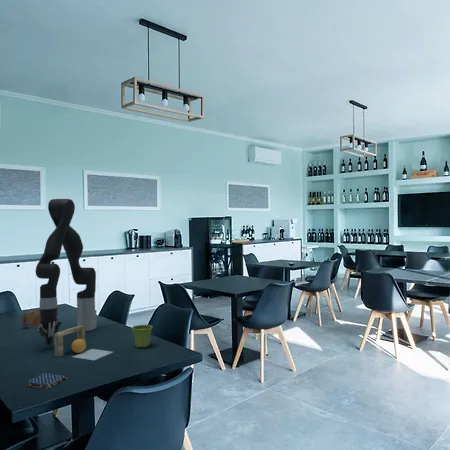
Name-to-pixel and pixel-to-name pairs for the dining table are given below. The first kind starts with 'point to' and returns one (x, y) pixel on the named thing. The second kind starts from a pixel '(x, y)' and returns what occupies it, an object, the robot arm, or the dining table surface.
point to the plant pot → (142, 335)
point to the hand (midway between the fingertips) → (49, 344)
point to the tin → (31, 319)
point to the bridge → (59, 335)
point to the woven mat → (46, 380)
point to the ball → (78, 346)
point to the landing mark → (92, 354)
